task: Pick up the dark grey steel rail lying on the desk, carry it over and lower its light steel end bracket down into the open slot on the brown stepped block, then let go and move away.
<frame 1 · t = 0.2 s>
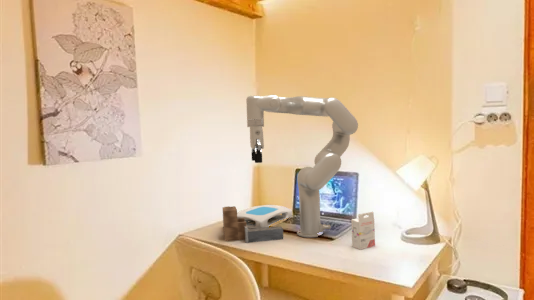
hand: (256, 161, 172), 36 cm above the table, tool pointing down, fingers open, 9 cm apart
ink cartridge box: (363, 246, 160), on the table
bed rail: (265, 239, 173), on the table
brown stepped block: (237, 237, 178), on the table
white step stool: (262, 222, 205), on the table
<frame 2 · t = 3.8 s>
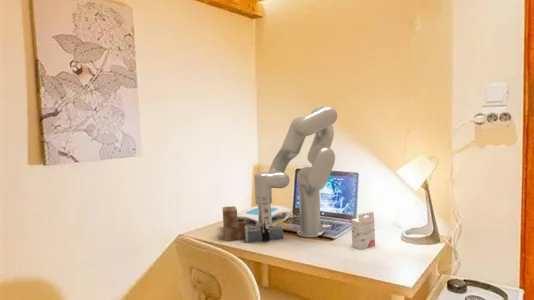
hand: (265, 239, 173), 0 cm above the table, tool pointing down, fingers closed on bed rail, 3 cm apart
bed rail: (265, 239, 173), on the table, touching gripper
everything else where it was.
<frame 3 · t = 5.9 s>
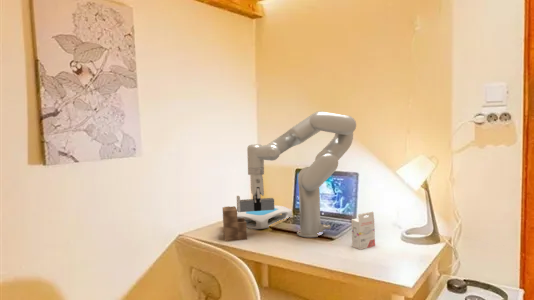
hand: (257, 209, 179), 13 cm above the table, tool pointing down, fingers closed on bed rail, 3 cm apart
bed rail: (256, 210, 179), point 12 cm above the table, touching gripper
everything else where it was.
when the fingers open (1 cm above the table, at t = 8.4 s): bed rail stays where it is, on the table.
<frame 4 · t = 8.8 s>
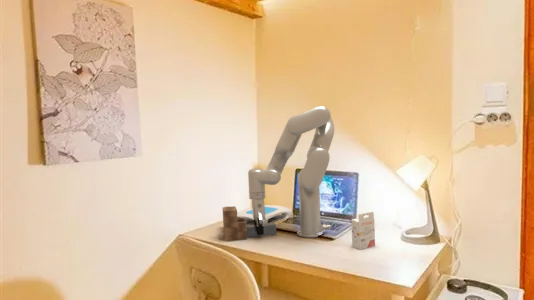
hand: (258, 231, 180), 2 cm above the table, tool pointing down, fingers open, 7 cm apart
bed rail: (259, 235, 180), on the table
everything else where it was.
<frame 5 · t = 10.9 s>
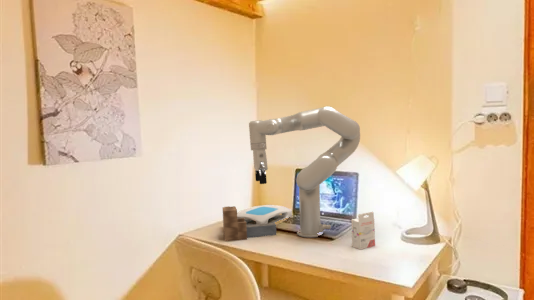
hand: (261, 182, 182), 25 cm above the table, tool pointing down, fingers open, 9 cm apart
nothing on the table moved.
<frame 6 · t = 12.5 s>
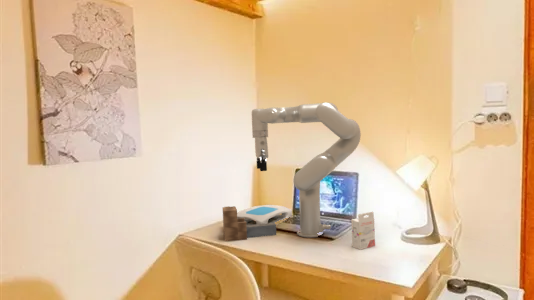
hand: (261, 169, 185), 30 cm above the table, tool pointing down, fingers open, 9 cm apart
nothing on the table moved.
at the end: bed rail 0.2 cm from the target spot on the table beside the brown stepped block, on the table; bed rail tilted 0°; the gripper is holding nothing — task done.
